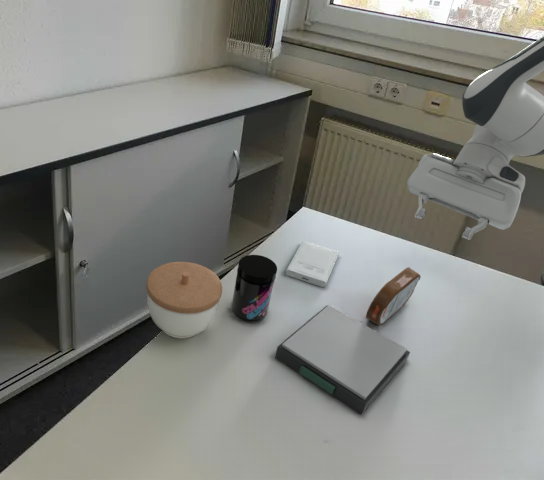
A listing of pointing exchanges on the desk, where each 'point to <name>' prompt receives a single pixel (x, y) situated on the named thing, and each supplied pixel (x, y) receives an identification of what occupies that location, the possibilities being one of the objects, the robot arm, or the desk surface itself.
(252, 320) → the supplement container
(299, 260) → the hard drive
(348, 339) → the scale
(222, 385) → the desk surface
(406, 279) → the tin
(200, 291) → the lidded bowl
